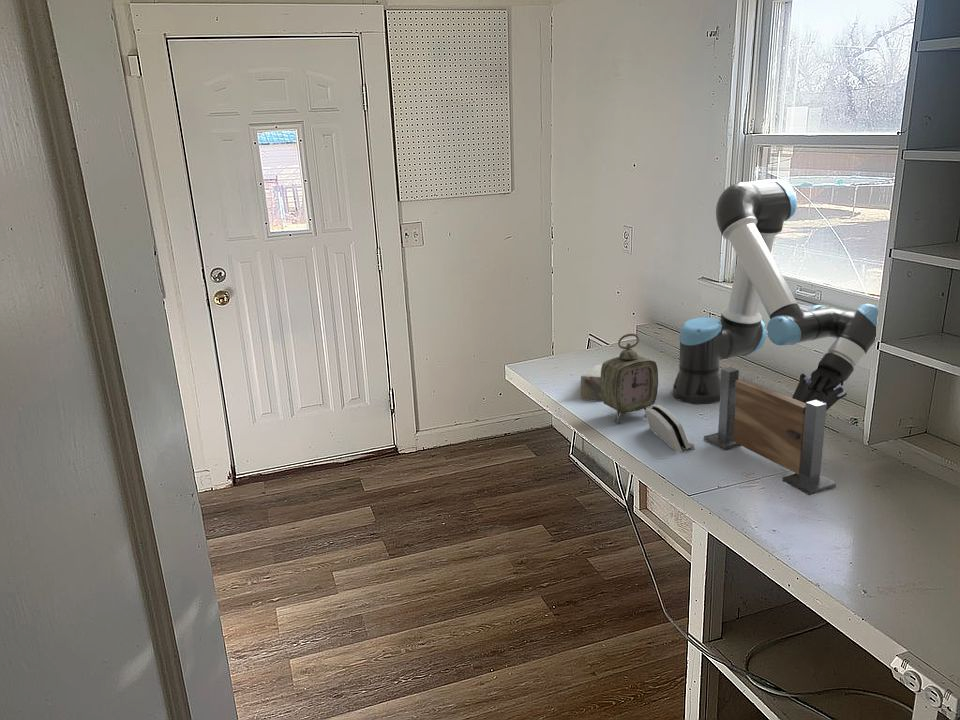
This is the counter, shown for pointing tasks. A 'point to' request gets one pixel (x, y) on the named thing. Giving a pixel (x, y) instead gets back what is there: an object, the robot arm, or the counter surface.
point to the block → (591, 384)
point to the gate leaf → (769, 424)
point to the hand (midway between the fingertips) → (784, 436)
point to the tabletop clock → (629, 381)
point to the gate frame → (811, 444)
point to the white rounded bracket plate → (667, 428)
